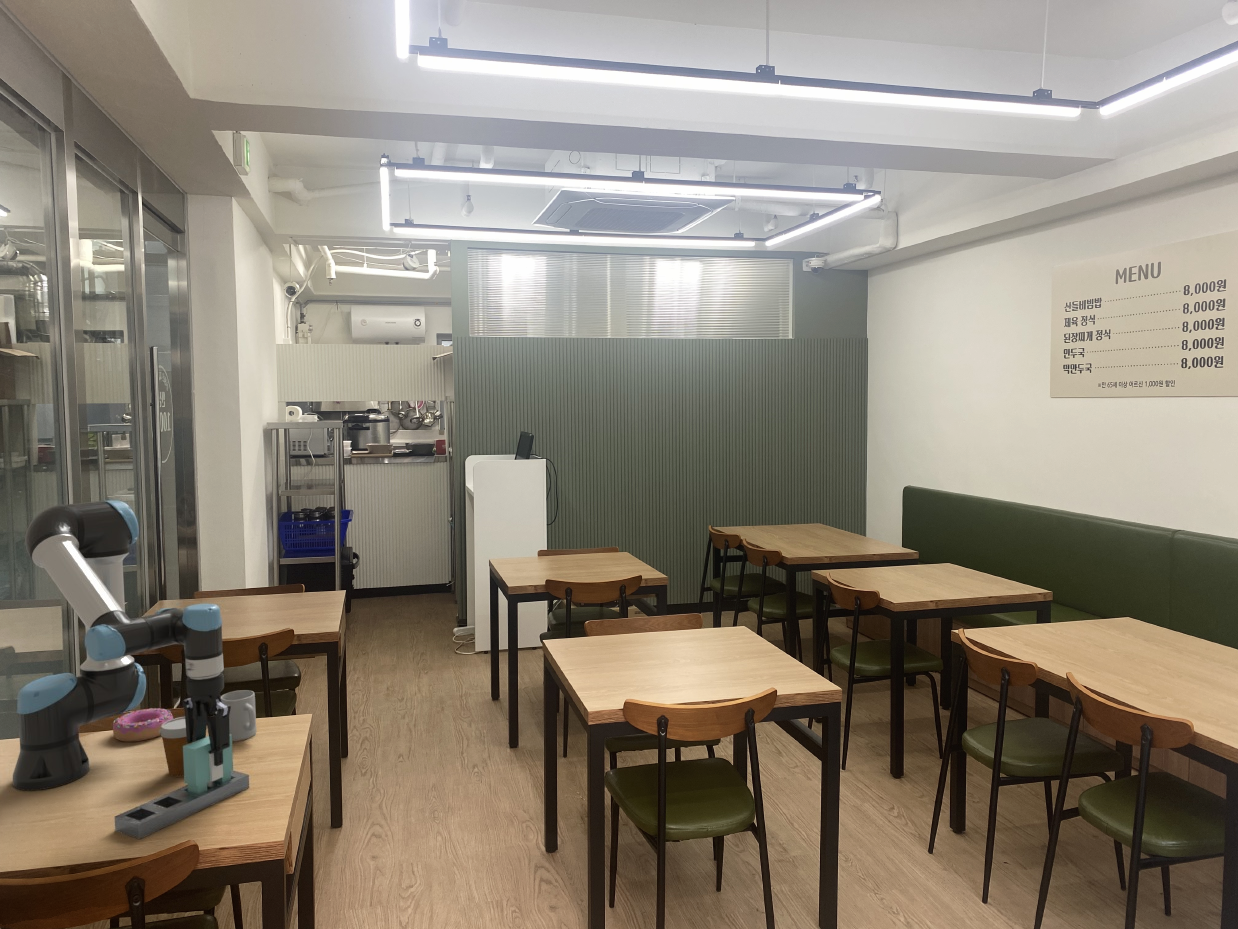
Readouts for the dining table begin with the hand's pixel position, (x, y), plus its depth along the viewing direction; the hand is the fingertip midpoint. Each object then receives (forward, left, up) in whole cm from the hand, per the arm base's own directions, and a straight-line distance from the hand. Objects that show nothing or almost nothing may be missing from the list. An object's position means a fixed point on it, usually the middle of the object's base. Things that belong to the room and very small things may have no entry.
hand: (209, 776), depth 187 cm
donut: (-51, +17, -5) cm, 54 cm away
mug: (-24, +27, -5) cm, 36 cm away
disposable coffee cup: (-18, +6, -5) cm, 20 cm away
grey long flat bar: (0, -6, -5) cm, 8 cm away
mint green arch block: (0, 0, -3) cm, 3 cm away
